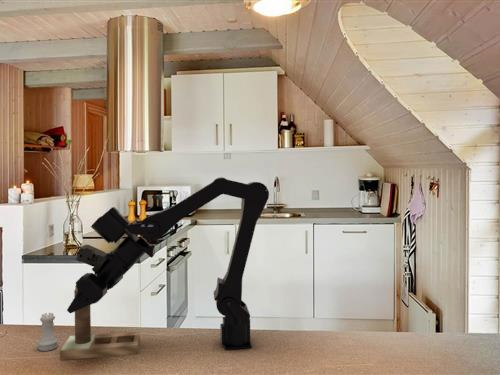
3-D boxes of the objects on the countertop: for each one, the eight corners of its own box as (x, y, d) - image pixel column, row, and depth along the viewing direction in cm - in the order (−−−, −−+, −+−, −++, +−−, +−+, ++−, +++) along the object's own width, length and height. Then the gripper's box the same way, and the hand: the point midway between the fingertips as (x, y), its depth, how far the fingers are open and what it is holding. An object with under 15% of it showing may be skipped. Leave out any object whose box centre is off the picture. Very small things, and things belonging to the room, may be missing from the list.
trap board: (139, 339, 105) (139, 330, 105) (137, 353, 97) (137, 344, 97) (69, 344, 102) (69, 335, 102) (59, 360, 93) (59, 350, 93)
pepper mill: (91, 338, 101) (91, 279, 100) (89, 343, 97) (88, 282, 97) (76, 339, 100) (75, 279, 100) (73, 344, 97) (72, 283, 96)
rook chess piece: (50, 352, 98) (49, 317, 98) (33, 351, 99) (32, 316, 99) (62, 345, 102) (61, 312, 102) (45, 343, 103) (45, 311, 103)
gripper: (109, 228, 108) (65, 272, 107) (85, 238, 89) (31, 292, 89) (141, 259, 108) (97, 303, 108) (123, 275, 90) (71, 328, 89)
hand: (76, 305), depth 98 cm, fingers open, 9 cm apart
